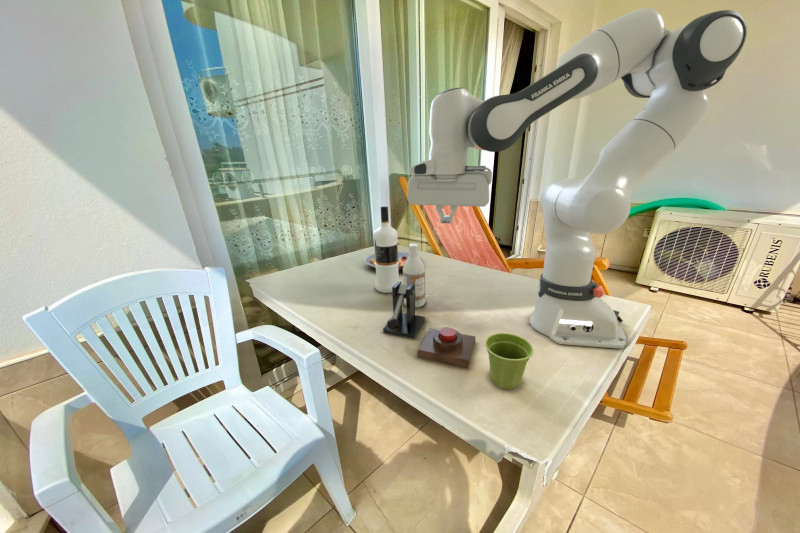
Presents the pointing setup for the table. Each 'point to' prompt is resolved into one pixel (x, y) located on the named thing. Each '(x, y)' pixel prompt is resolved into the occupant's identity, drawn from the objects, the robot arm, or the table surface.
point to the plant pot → (507, 358)
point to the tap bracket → (409, 321)
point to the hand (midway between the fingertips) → (446, 222)
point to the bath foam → (415, 275)
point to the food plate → (401, 259)
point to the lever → (397, 309)
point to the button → (447, 334)
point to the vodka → (386, 254)
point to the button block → (447, 348)
